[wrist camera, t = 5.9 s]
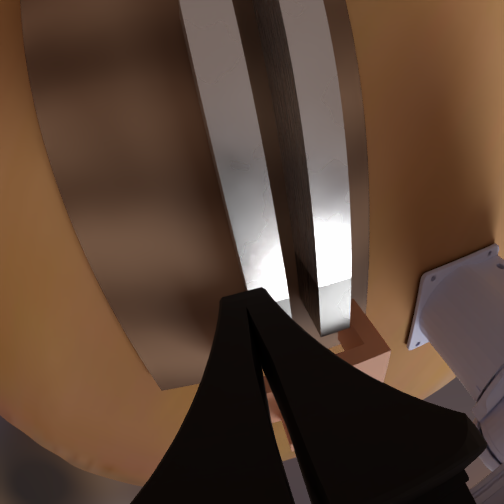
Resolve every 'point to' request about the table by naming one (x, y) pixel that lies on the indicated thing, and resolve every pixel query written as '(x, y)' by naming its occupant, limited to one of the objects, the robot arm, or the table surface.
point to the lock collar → (350, 355)
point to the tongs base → (311, 153)
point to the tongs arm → (235, 142)
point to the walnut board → (167, 167)
